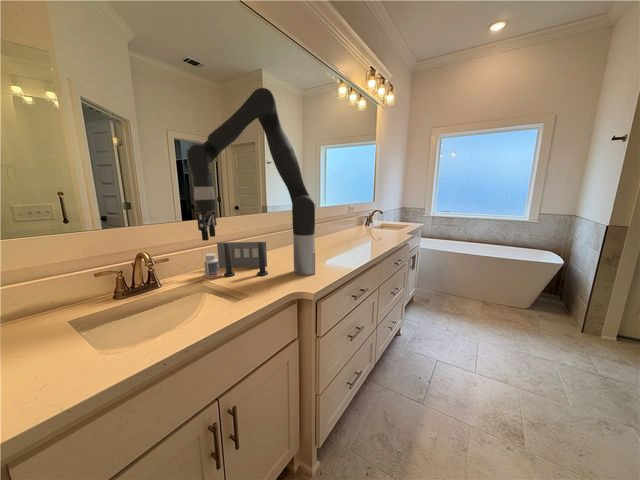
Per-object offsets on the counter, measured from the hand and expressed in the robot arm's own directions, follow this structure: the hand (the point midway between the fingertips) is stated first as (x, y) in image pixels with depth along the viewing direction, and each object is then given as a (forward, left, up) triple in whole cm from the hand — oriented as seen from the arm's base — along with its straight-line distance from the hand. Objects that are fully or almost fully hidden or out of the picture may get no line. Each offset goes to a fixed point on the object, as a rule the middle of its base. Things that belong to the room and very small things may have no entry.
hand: (209, 238), depth 105 cm
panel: (-10, -12, -16) cm, 22 cm away
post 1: (-7, 0, -16) cm, 18 cm away
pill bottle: (0, 0, -16) cm, 16 cm away
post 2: (-21, 0, -16) cm, 26 cm away
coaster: (0, 0, -16) cm, 16 cm away
